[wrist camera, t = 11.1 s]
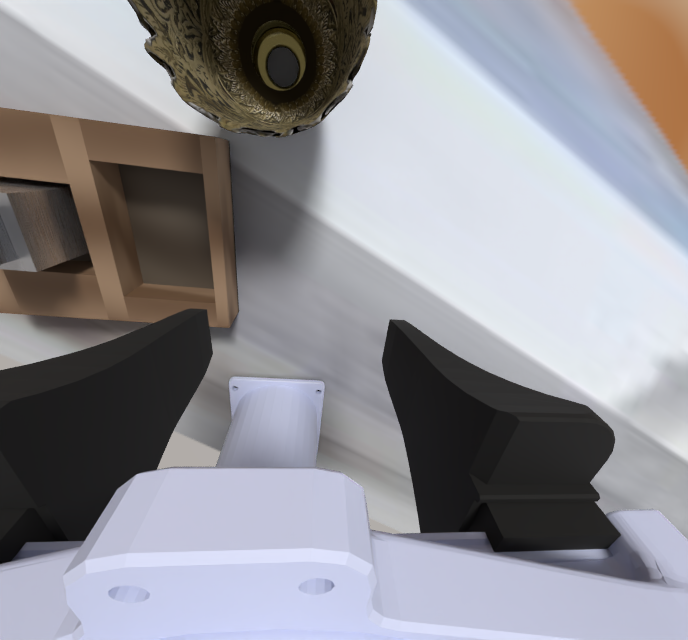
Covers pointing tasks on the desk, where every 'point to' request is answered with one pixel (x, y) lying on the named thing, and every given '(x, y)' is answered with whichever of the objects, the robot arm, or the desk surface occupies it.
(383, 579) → the robot arm
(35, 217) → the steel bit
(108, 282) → the socket board
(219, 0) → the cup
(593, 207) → the desk surface
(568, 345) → the desk surface
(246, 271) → the desk surface
